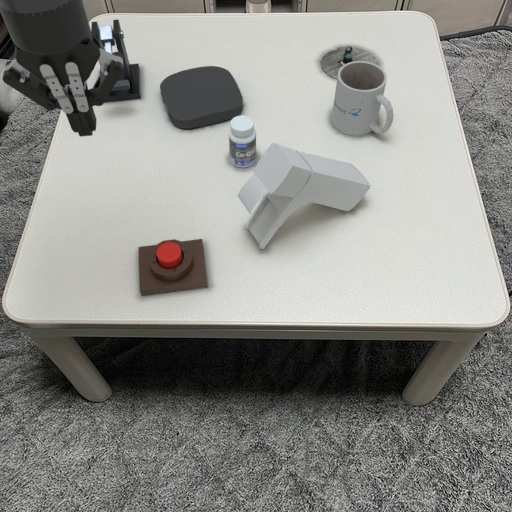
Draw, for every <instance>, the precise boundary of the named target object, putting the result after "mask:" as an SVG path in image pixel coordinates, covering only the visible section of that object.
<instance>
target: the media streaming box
mask: <svg viewBox="0 0 512 512" xmlns="http://www.w3.org/2000/svg"><path fill="white" fill-rule="evenodd" d="M159 91H160V95H161V98H162V102H163V104H164V108H165V110H166V113H167V115H168V117H169V119H170V121H171V123H172V125H174V126H176V127H177V128H180V129H195V128H199V127H204V126H207V125H213V124H216V123H221V122H224V121H228V120H232V119H233V118H234V117H236V116H240V114H241V113H242V112H243V108H244V101H243V94H242V92H241V89H240V87H239V84H238V83H237V81H236V79H235V78H234V76H233V74H232V73H231V72H230V71H229V70H228V69H227V68H224V67H221V66H215V65H205V66H198V67H192V68H187V69H184V70H180V71H178V72H174V73H172V74H170V75H168V76H166V77H165V78H164V79H163V80H162V81H161V82H160V84H159Z"/></svg>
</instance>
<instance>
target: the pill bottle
mask: <svg viewBox="0 0 512 512" xmlns="http://www.w3.org/2000/svg"><path fill="white" fill-rule="evenodd" d="M229 127H230V128H229V131H228V145H229V146H228V147H229V159H230V162H231V164H232V165H234V166H235V167H237V168H248V167H250V166H253V165H254V164H255V162H256V161H257V131H256V129H255V122H254V120H253V118H251V117H250V116H248V115H245V114H244V115H238V116H236V117H234V118H231V119H230V123H229Z"/></svg>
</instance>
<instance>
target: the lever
mask: <svg viewBox="0 0 512 512" xmlns="http://www.w3.org/2000/svg"><path fill="white" fill-rule="evenodd" d="M98 27H99V30H100V38H101V42H102V44H103V46H104V48H105V51H107V52H109V53H111V54H112V53H114V51H113V46H116V42H115V39H114V35H113V25H111V24H108V25H107V24H106V25H98ZM127 89H130V84H129V81H128V80H119V81H117V82H116V84H115V86H114V87H113V89H112V90H111V91H117V90H127Z"/></svg>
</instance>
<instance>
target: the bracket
mask: <svg viewBox="0 0 512 512" xmlns="http://www.w3.org/2000/svg"><path fill="white" fill-rule="evenodd" d="M90 29H91V32H92V34H93V35H94V37H95V38H96V39H97V40H98V41H99V43H100V46H101V49H103V50H105V47H104V46H103V44H102V42H101V38H100V29H99V24H98V21H91V26H90ZM112 29H113V35H114V39H115V46H116V50H117V52H120V53H121V54H122V55H123V73H122V74H121V76H120V78H119V79H118V81H119V80H128V81H129V84H130V89H127V90H117V91H111V92H110V94H109V95H108V97H107V98H106V100H105V102H104V103H113V102H122V101H131V100H132V101H133V100H140V99H142V95H141V94H142V93H141V92H142V91H141V90H142V89H141V68H140V63H130V61H129V56H128V52H127V47H126V44H125V41H124V39H125V33H124V30H122V29H121V24H120V20H119V19H117V18H116V19H113V20H112ZM105 51H106V50H105ZM98 64H99V65H100V62H99V61H98ZM100 74H101V71H100V70H99V75H100Z"/></svg>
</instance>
